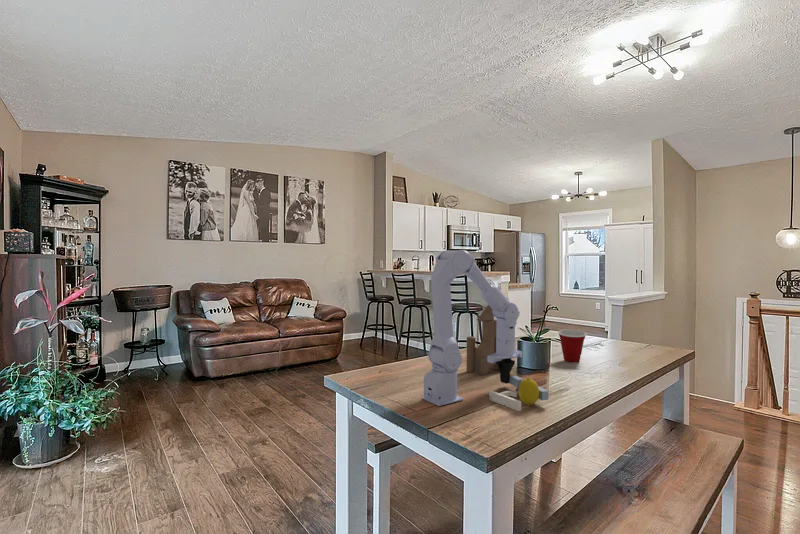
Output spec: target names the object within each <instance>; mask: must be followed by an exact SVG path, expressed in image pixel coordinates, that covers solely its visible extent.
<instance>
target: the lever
mask: <svg viewBox="0 0 800 534" xmlns="http://www.w3.org/2000/svg"><path fill="white" fill-rule="evenodd" d="M524 379H525V378H522V377H520V376H518V375H516V373H515V372H513V371H511V372H510V379H509V383H508V384H509V385H512V386H514V387H515V388H518V390H519V385H520V383H521V382H522V381H523V380H524ZM538 388H539V398H538V400H540V401H549V390H547V389H546V388H543V387H541V386H539V385H538Z"/></svg>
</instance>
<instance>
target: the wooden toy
mask: <svg viewBox="0 0 800 534" xmlns="http://www.w3.org/2000/svg"><path fill="white" fill-rule="evenodd" d="M476 321H477V322H481V323H482V325H481V326H482V327H481V328H482V329H481V333H482V334H481V337H482V338H481V342H480V344H479V345H478V346H476V341H477V340H476V339H477V338H476V337H475V336H472V335H469V336H467V337H466V368H465V369H466V373H469V374H472V373H473V374H476V375H479V376H482V375H488V374H489V370H490V369H494V370H497V371H499V372H500V370H499V368H498V366H497V364H496V362H494V363H489V362H487V356H489V355H492V354H494V353H496V330H497V319H495V316H494V315H493V312H492V308H491V307H490V306H489V305H488V304H487V306H486V307H485V308H484V309H483V311H482V312H481V314H480V315H479V316H478V318H477V319H476Z"/></svg>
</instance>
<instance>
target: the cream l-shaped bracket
mask: <svg viewBox="0 0 800 534" xmlns="http://www.w3.org/2000/svg"><path fill="white" fill-rule="evenodd" d="M510 396H511V397H510ZM513 397H514V398H513ZM516 398H518V397H517V392H515V391H513V390H511V389H509V390H505V391H501V392H496V391H495V390H494V391H493V390H488V400H489V401H491V402H495V403H496V404H500V405H501V406H504V405H505V406H504V407H507V408H509V409H512V410H515V411H516V412H521V411H522V400H519V399H516Z"/></svg>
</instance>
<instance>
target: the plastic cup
mask: <svg viewBox="0 0 800 534" xmlns="http://www.w3.org/2000/svg"><path fill="white" fill-rule="evenodd" d="M557 333H558V335H559V340H560V344H561V351H562V356H563V360H565V362H566V361H567V363H570V362H578V363H580V360H581V357H582V352H583V347H584V341H585V338H586V336H587V334H588V333H586V332H585V331H583V330H578V329H561V330H558V331H557Z"/></svg>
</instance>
